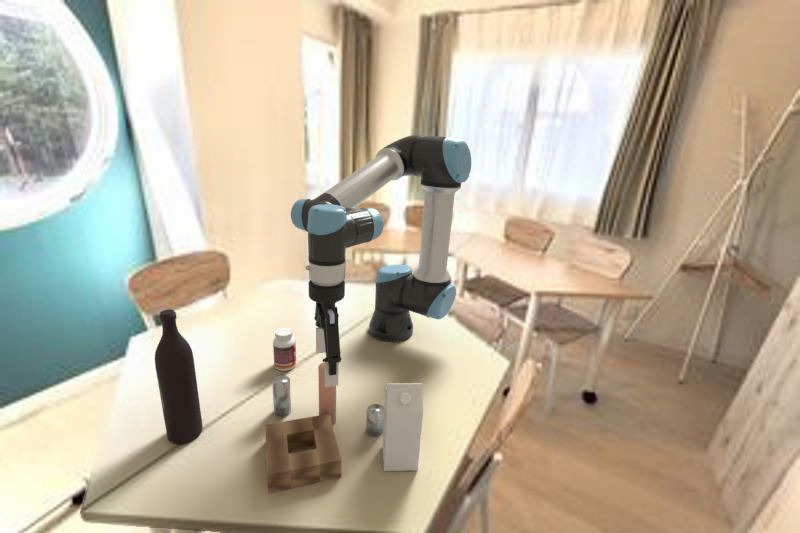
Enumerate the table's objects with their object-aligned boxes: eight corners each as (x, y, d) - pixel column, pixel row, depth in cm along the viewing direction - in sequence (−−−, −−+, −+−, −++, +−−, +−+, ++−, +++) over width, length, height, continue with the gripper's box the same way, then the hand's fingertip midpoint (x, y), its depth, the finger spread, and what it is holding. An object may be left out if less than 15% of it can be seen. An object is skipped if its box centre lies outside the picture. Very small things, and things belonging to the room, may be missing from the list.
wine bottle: (190, 418, 96) (173, 301, 86) (209, 430, 93) (194, 310, 83) (160, 436, 90) (139, 313, 80) (180, 450, 87) (160, 323, 77)
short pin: (380, 423, 98) (381, 402, 96) (385, 435, 95) (386, 413, 93) (364, 426, 97) (365, 405, 95) (368, 438, 93) (369, 416, 91)
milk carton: (382, 446, 91) (385, 373, 85) (413, 445, 92) (419, 373, 86) (383, 471, 85) (387, 395, 78) (417, 471, 85) (424, 394, 79)
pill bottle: (299, 368, 118) (298, 334, 114) (278, 374, 114) (276, 339, 111) (292, 357, 122) (290, 324, 119) (271, 363, 119) (269, 329, 115)
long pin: (334, 414, 100) (334, 361, 95) (337, 425, 97) (337, 370, 92) (317, 416, 99) (317, 363, 94) (320, 428, 95) (319, 373, 90)
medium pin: (290, 405, 102) (289, 374, 99) (291, 415, 99) (290, 384, 96) (273, 407, 101) (271, 376, 98) (274, 418, 98) (272, 386, 95)
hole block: (329, 429, 95) (329, 413, 94) (341, 477, 83) (341, 459, 81) (266, 441, 91) (265, 424, 89) (268, 493, 78) (267, 475, 77)
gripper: (302, 261, 96) (303, 342, 102) (316, 305, 73) (317, 404, 80) (334, 260, 98) (333, 339, 105) (357, 302, 76) (354, 399, 83)
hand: (326, 367), depth 93 cm, fingers open, 13 cm apart
